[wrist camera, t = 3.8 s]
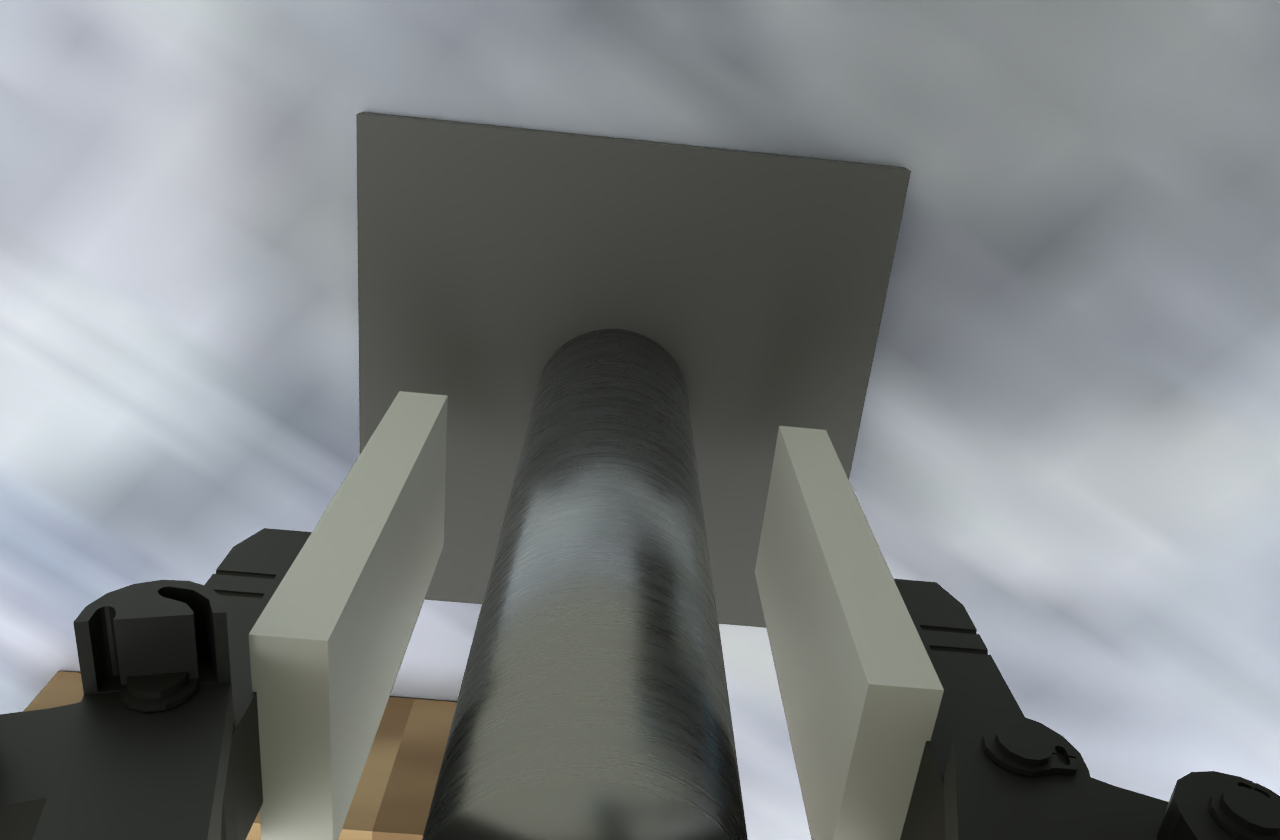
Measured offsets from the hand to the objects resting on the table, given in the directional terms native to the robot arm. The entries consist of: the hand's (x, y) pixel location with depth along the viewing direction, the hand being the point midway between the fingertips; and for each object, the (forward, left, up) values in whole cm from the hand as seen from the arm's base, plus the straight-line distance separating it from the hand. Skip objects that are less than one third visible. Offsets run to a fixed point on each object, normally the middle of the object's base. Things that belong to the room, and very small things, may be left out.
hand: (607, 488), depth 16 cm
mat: (0, 0, -4) cm, 4 cm away
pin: (0, 0, -4) cm, 4 cm away
